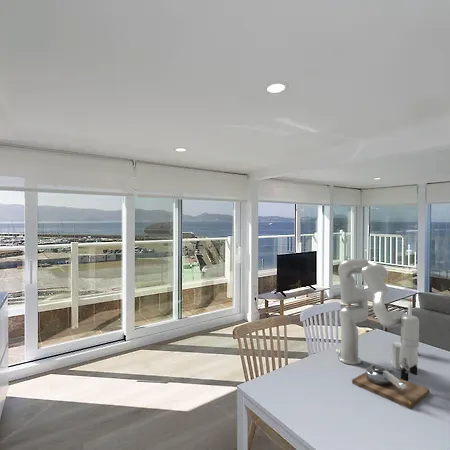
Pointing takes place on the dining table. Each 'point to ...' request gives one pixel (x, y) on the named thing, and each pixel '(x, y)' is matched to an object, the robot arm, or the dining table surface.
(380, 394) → the wooden base
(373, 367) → the faucet lever handle
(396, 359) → the supplement box
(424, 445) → the dining table surface
